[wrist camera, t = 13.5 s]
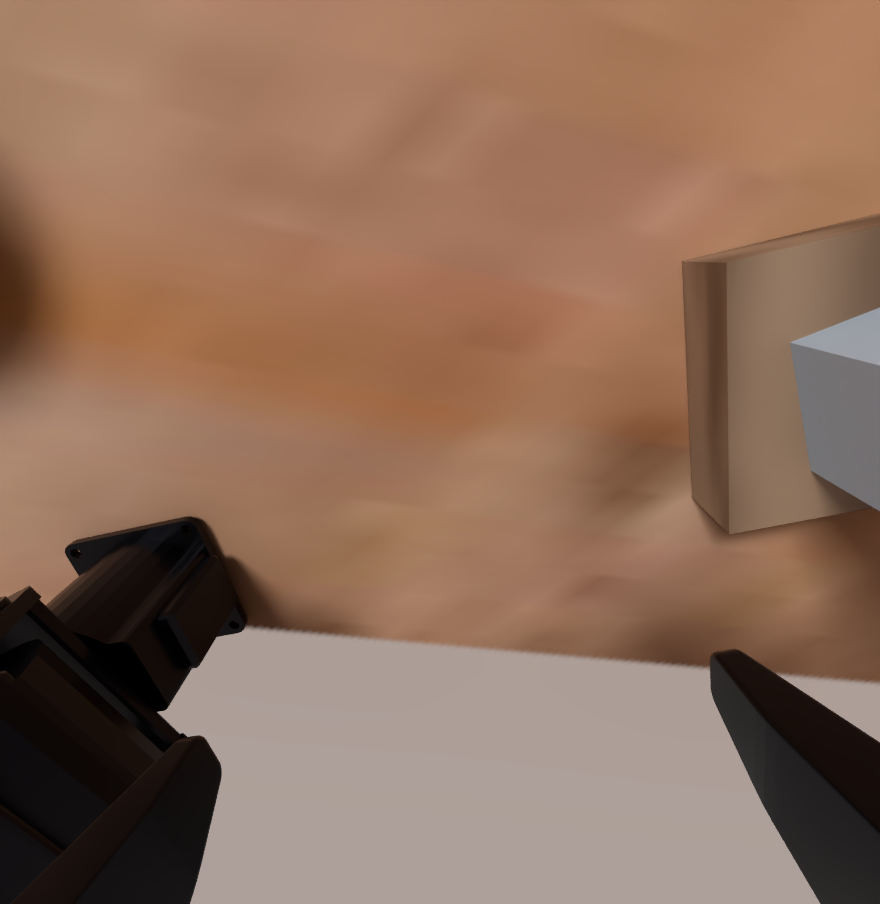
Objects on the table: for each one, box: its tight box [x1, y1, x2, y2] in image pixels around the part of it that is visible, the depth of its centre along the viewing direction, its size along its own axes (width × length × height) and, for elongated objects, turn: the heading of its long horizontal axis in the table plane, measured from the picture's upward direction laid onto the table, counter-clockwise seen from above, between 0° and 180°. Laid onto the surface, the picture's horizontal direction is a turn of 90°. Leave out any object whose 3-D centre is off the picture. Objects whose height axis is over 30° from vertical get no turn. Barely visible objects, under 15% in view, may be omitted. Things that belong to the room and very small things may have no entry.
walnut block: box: [682, 214, 880, 534], centre depth 18 cm, size 10×10×3 cm
